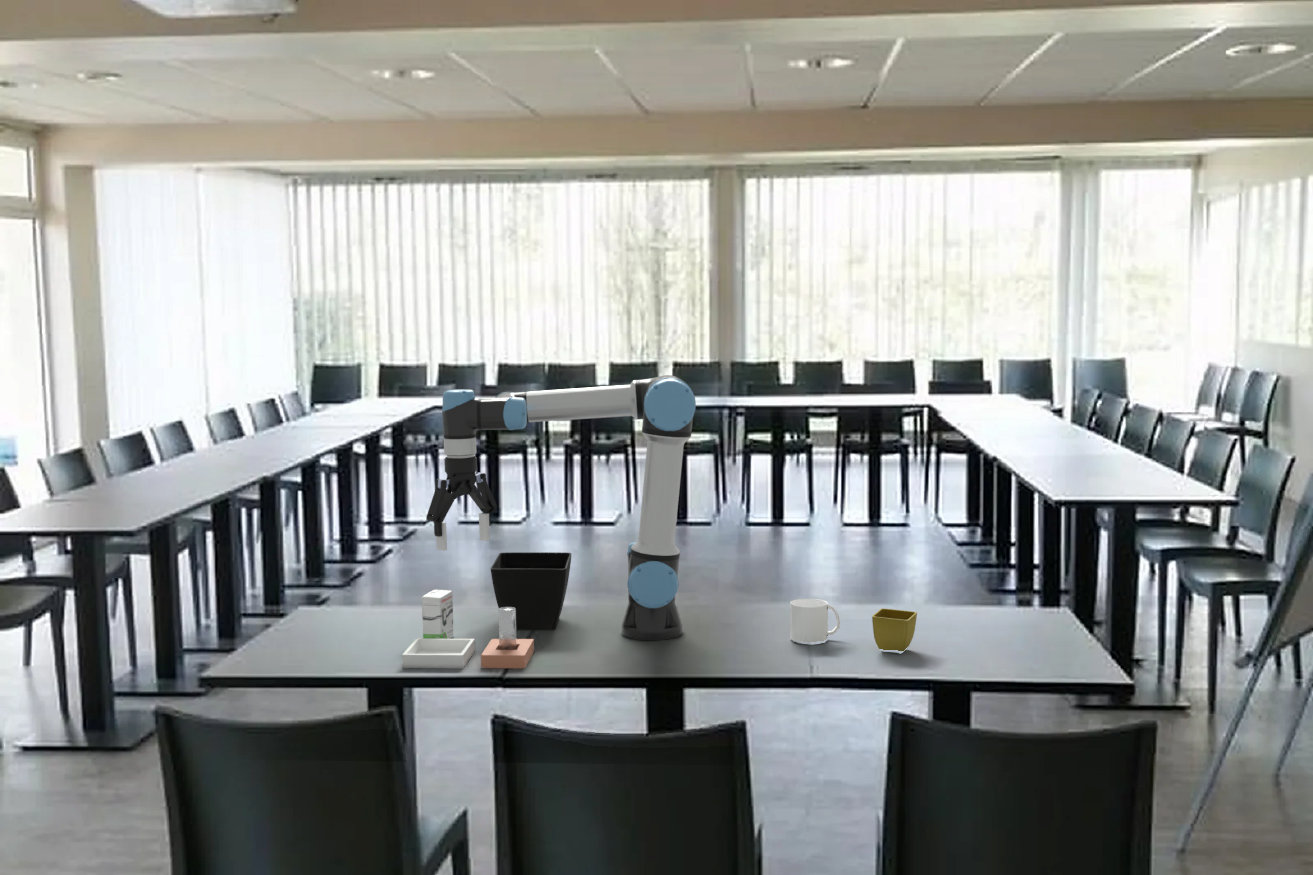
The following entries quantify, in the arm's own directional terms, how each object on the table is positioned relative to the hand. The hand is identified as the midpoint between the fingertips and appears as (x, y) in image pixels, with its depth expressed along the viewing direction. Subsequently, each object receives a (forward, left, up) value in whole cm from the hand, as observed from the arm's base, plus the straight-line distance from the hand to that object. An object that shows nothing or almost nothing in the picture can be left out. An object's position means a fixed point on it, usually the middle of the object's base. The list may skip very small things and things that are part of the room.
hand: (463, 545), depth 318 cm
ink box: (+9, -9, -26) cm, 29 cm away
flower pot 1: (-12, -25, -26) cm, 38 cm away
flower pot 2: (-101, -2, -26) cm, 105 cm away
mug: (-83, -11, -26) cm, 88 cm away
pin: (-11, +8, -26) cm, 29 cm away
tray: (+5, +8, -26) cm, 27 cm away
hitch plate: (-11, +8, -26) cm, 29 cm away
